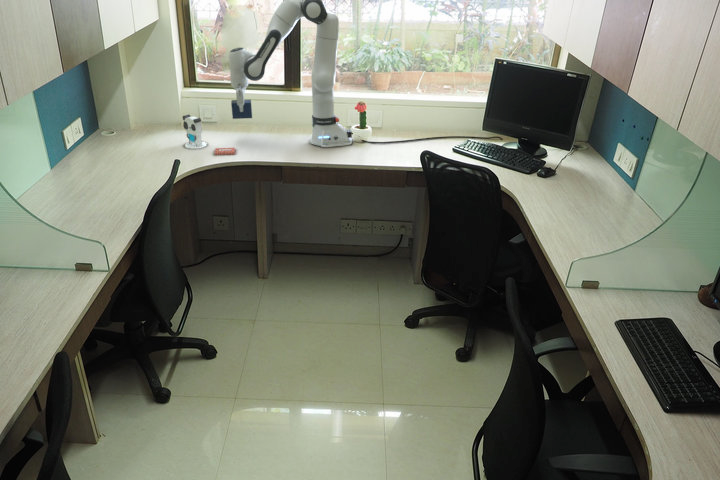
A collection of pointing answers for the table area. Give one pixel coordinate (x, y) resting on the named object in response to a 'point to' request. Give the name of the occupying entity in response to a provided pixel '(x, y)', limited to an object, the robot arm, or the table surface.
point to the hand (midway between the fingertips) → (241, 109)
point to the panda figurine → (193, 132)
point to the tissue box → (246, 110)
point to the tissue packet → (224, 151)
